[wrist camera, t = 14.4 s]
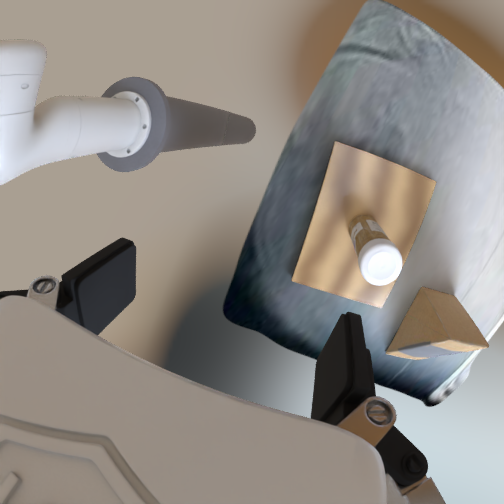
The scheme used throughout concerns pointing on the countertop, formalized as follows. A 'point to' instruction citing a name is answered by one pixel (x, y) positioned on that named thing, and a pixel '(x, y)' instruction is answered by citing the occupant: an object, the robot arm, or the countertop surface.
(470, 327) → the sandwich container
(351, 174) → the chopping board
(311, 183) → the countertop surface
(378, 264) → the sprinkles bottle
